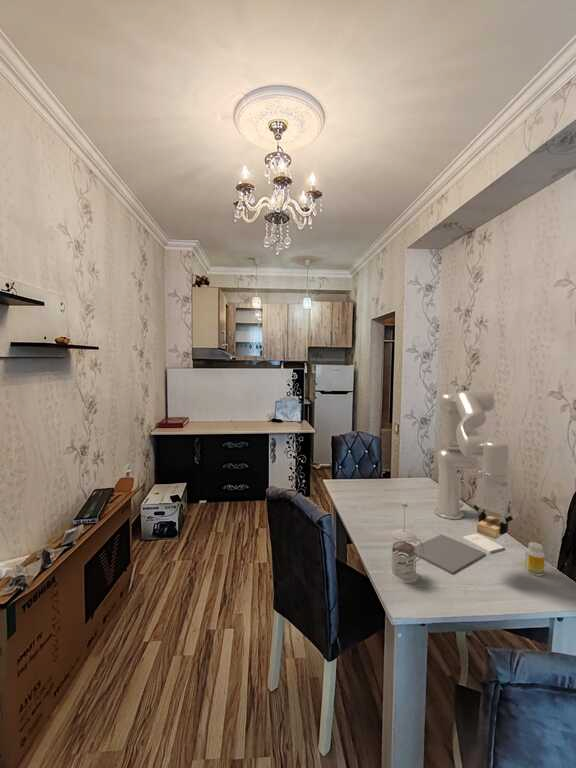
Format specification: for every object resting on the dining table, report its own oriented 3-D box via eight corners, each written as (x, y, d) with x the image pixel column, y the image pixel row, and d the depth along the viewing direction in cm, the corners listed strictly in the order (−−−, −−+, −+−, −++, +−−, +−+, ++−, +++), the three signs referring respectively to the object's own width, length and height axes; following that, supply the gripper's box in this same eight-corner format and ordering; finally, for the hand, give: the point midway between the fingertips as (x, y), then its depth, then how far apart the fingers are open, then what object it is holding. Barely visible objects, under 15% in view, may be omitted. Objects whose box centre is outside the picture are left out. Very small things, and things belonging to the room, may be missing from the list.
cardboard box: (489, 524, 127) (489, 515, 127) (508, 530, 122) (508, 521, 122) (476, 532, 121) (477, 522, 120) (495, 539, 116) (496, 529, 116)
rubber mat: (441, 536, 148) (441, 534, 148) (485, 555, 134) (485, 553, 133) (407, 551, 136) (408, 549, 136) (452, 574, 121) (452, 572, 121)
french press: (384, 566, 126) (385, 497, 124) (416, 565, 127) (417, 496, 125) (394, 583, 116) (395, 508, 115) (429, 582, 117) (430, 507, 116)
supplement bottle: (521, 567, 125) (522, 541, 125) (536, 567, 126) (537, 540, 125) (532, 576, 120) (533, 549, 119) (548, 576, 120) (549, 548, 120)
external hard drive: (489, 555, 135) (462, 540, 146) (505, 551, 138) (477, 536, 149) (489, 551, 135) (462, 536, 146) (505, 547, 138) (477, 532, 149)
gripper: (463, 473, 125) (462, 522, 126) (517, 487, 111) (515, 543, 112) (475, 469, 130) (473, 517, 131) (528, 482, 115) (525, 536, 116)
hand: (492, 528), depth 121 cm, fingers closed on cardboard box, 6 cm apart
